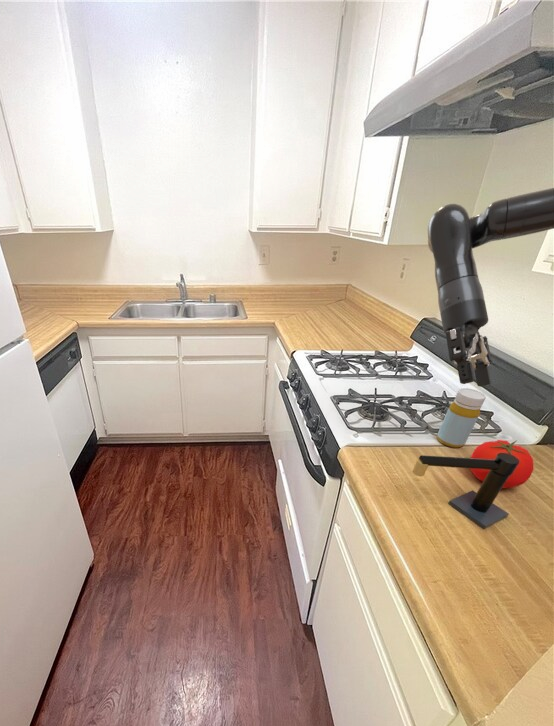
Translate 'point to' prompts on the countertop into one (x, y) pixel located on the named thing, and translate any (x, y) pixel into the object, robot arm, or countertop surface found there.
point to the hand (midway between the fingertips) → (476, 384)
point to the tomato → (500, 446)
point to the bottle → (461, 418)
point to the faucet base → (482, 501)
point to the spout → (468, 463)
